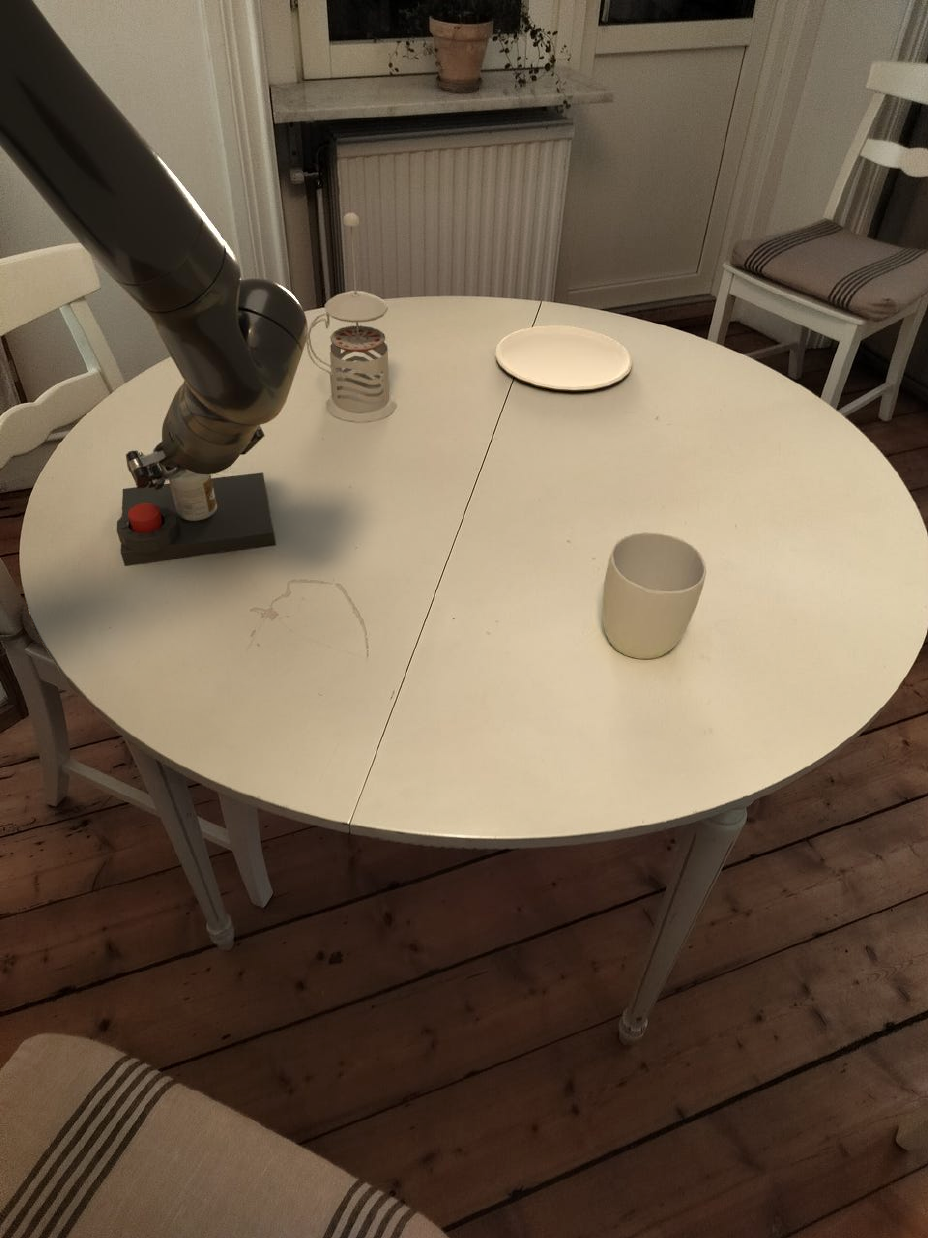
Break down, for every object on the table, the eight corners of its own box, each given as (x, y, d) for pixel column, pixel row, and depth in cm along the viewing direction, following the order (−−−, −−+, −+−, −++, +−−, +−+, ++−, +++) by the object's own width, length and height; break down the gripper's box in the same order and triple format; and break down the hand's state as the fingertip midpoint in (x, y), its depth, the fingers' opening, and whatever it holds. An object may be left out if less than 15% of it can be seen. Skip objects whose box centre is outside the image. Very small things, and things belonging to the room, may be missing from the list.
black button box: (124, 569, 89) (115, 543, 86) (126, 501, 97) (118, 476, 95) (276, 548, 92) (272, 522, 90) (265, 484, 101) (261, 459, 98)
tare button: (131, 535, 88) (127, 522, 86) (131, 518, 90) (127, 504, 89) (163, 531, 88) (159, 518, 87) (162, 514, 91) (159, 501, 89)
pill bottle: (222, 515, 93) (210, 456, 88) (183, 526, 91) (168, 466, 86) (210, 495, 96) (198, 436, 90) (172, 505, 94) (157, 445, 89)
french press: (394, 423, 112) (388, 229, 95) (307, 419, 112) (287, 224, 95) (399, 387, 119) (395, 201, 102) (318, 384, 119) (301, 197, 102)
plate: (506, 325, 135) (507, 317, 135) (634, 340, 133) (636, 333, 132) (483, 385, 121) (483, 377, 120) (627, 404, 118) (628, 396, 117)
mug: (696, 665, 81) (722, 588, 74) (608, 673, 80) (626, 596, 73) (654, 580, 90) (674, 505, 83) (575, 587, 89) (588, 511, 82)
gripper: (263, 364, 80) (228, 420, 95) (116, 406, 73) (102, 459, 88) (296, 437, 80) (256, 481, 95) (153, 485, 74) (134, 525, 89)
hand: (182, 471), depth 92 cm, fingers open, 6 cm apart
